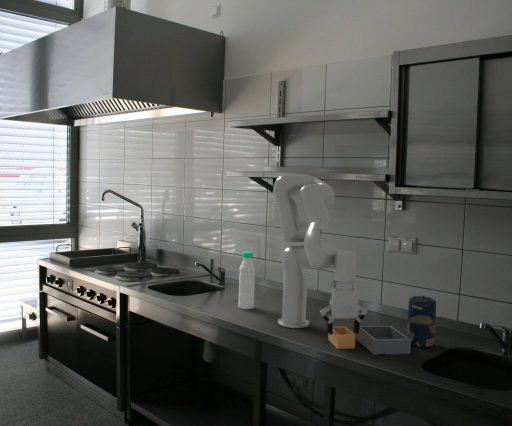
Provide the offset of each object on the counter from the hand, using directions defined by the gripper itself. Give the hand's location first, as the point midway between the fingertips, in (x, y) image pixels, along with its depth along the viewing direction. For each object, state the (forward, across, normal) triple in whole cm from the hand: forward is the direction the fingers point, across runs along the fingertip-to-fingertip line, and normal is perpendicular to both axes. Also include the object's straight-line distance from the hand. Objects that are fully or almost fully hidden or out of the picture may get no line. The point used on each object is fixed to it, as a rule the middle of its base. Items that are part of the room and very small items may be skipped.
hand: (343, 333), depth 183 cm
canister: (+5, +29, -2) cm, 29 cm away
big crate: (+4, +14, -3) cm, 15 cm away
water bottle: (+2, -26, +52) cm, 58 cm away
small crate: (+4, 0, +1) cm, 4 cm away
